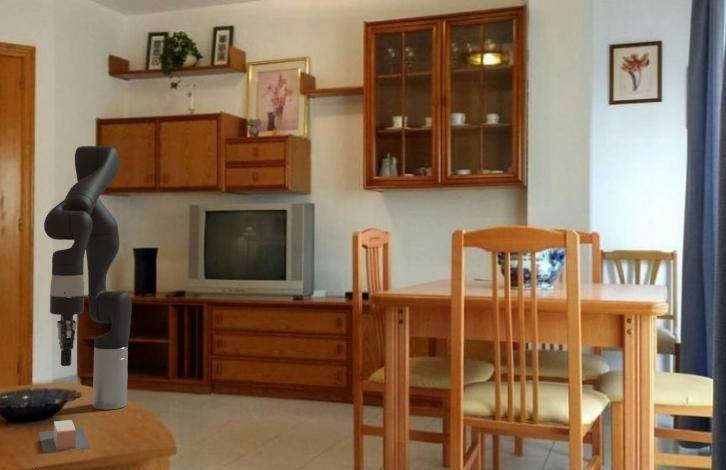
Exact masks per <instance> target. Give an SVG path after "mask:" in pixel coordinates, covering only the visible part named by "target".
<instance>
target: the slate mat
mask: <svg viewBox="0 0 726 470" xmlns="http://www.w3.org/2000/svg"><path fill="white" fill-rule="evenodd" d="M75 429H76V448H70V449H61V450H57V449H56V445H55V441H54V430H50V431H49V430H48V431H46V430H45V431H38V436H39V440H40V444H41V445H40V446H41V450H42V453H43V454H51V453H52V454H53V453H57V452H58V453H59V452H68V451H77V450H78V451H79V450H87V449H91V446H90V444H89V442H88V439H87V436H86V435H85V432H84V429H83V427H79V428H75Z"/></svg>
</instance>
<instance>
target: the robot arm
mask: <svg viewBox="0 0 726 470" xmlns="http://www.w3.org/2000/svg"><path fill="white" fill-rule="evenodd" d="M119 156H120V155H119V153H118V151H117V149H116V148H115V147H114V146H111V145H110V146H109V145H86V146H85V145H84V146H78V147H77V148H76V150H75V153H74V167H75V173H76V175H75V176H76V180H77V182H76V183H75V184H73V185H72V186H71V188H70V189H69V190H68V191H67V194H66V196H65V198H64V199H63V200H62V201H61V202H59V203H58V204H57V205H55V206H54V207H53V208H51V210H49V212H48V213H47V215H46V216H45V219H44V223H43V228H44V232H45V234H46V236H47V237H49V239H52V240H59V241H62V240H63V241H64V240H65V241H73V243H72V246H71V247H69V248H66V249H64V248H63V249H59V250H56V251H54V252H53V253H52V255H51V256H52V258H51V280H50V290H49V291H50V292H49V293H50V295H49V298H50V299H49V313H50V314H51V315H56V316H57V315H58V316H59V315H60V320H56V321H57V323H56V326H57V327H56V328H57V330H58V331H57V333H58V335H57V339H58V340H59V343H58V344H59V350H60V365H61V366H62V367H70V366H71V364H72V351H73V349H74V342H75V340H76V339H75V338H76V336H75V335H76V329H77V321H76V320H75V319H74V315H80V314H83V313H84V312H85V311H84V309H85V280H84V278H85V277H84V261H85V255H86V262H87V263H86V265H87V278H88V280H87V281H88V283H87V284H88V286H87V287H88V289H87V291H88V294H87V296H88V312H89V316H90V319H91V320H92V321H93V322H94V323H99V324H111V329H110V331H108V332H106V333H104V334H101V335H98V336H96V337H94V341H93V342H94V343H93V347H94V348H93V381H92V382H93V384H92V408H93V409H97V410H115V409H116V410H117V409H121V408H124V407H126V406H127V403H128V374H129V373H128V361H129V360H128V357H129V355H128V354H129V352H128V350H129V349H128V347H129V340H130V336H131V320H132V312H133V311H132V308H133V307H132V306H133V304H132V299H131V298H132V297H131V296H130V294H129V293H128V292H124V291H111V290H110V291H108V290H107V274H108V272H109V269H110V267H111V266H112V264H113V262H114V260H115V258H116V257H117V255H118V253H119V250H120V235H119V226H118V223H117V220H116V219H115V217H114V216H113V214H112V213H111V212H110V211H109V209H108V208H107V206H105V204H104V203H103V201H102V200H101V199H100V197H101V195H102V194H103V193H104V192H105V190H106V189H107V188H108V187H109V186H110V184H112V182H113V181H114V180H115V178H116V177H117V176H118V174H119V170H120V157H119Z"/></svg>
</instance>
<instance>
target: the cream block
mask: <svg viewBox="0 0 726 470" xmlns="http://www.w3.org/2000/svg"><path fill="white" fill-rule="evenodd" d="M76 429H77V428H76V427H75V424H74V422H73V419H67V420H58V421H57V420H55V421H53V431H54V441H55V445H56V449H57V450H61V449H70V448H76Z"/></svg>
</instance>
